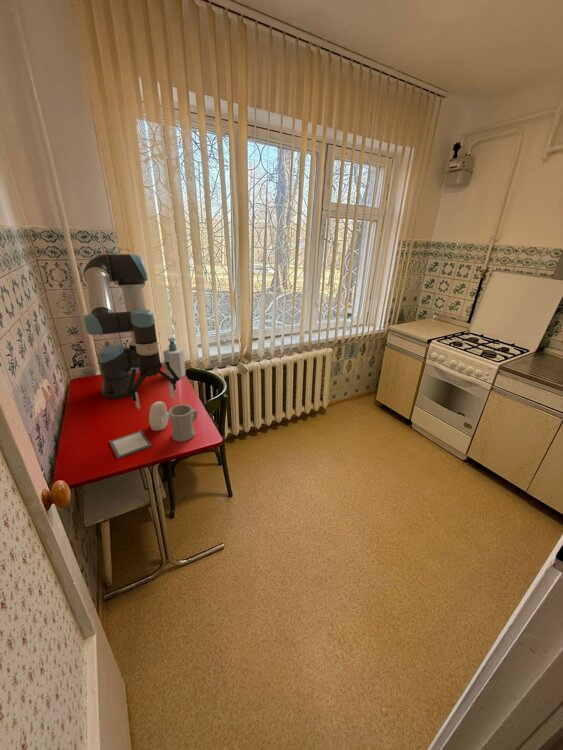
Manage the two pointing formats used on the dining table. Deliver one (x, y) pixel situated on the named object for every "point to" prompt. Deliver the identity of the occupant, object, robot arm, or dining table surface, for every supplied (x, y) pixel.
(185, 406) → the cup
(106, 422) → the dining table surface
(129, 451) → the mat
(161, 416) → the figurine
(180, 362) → the soap bottle
